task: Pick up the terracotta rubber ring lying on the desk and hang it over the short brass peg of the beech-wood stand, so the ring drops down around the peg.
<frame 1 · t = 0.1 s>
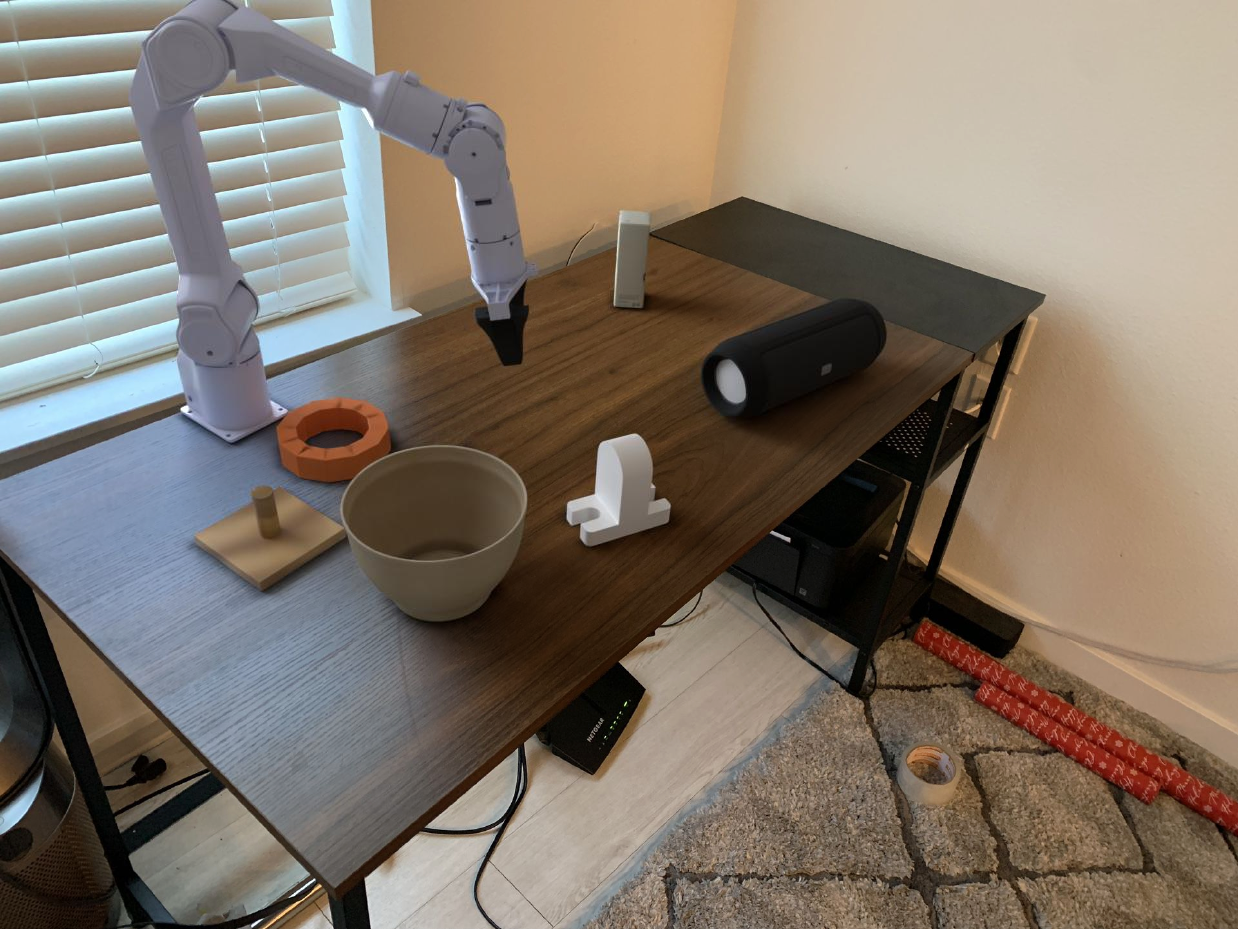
hand: (513, 345, 105), 11 cm above the table, tool pointing down, fingers open, 7 cm apart
peg stand: (271, 540, 93), on the table
box: (628, 301, 139), on the table
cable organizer: (617, 520, 99), on the table
portable speaker: (789, 390, 122), on the table
rubber ring: (336, 449, 105), on the table
planter bowl: (440, 588, 89), on the table
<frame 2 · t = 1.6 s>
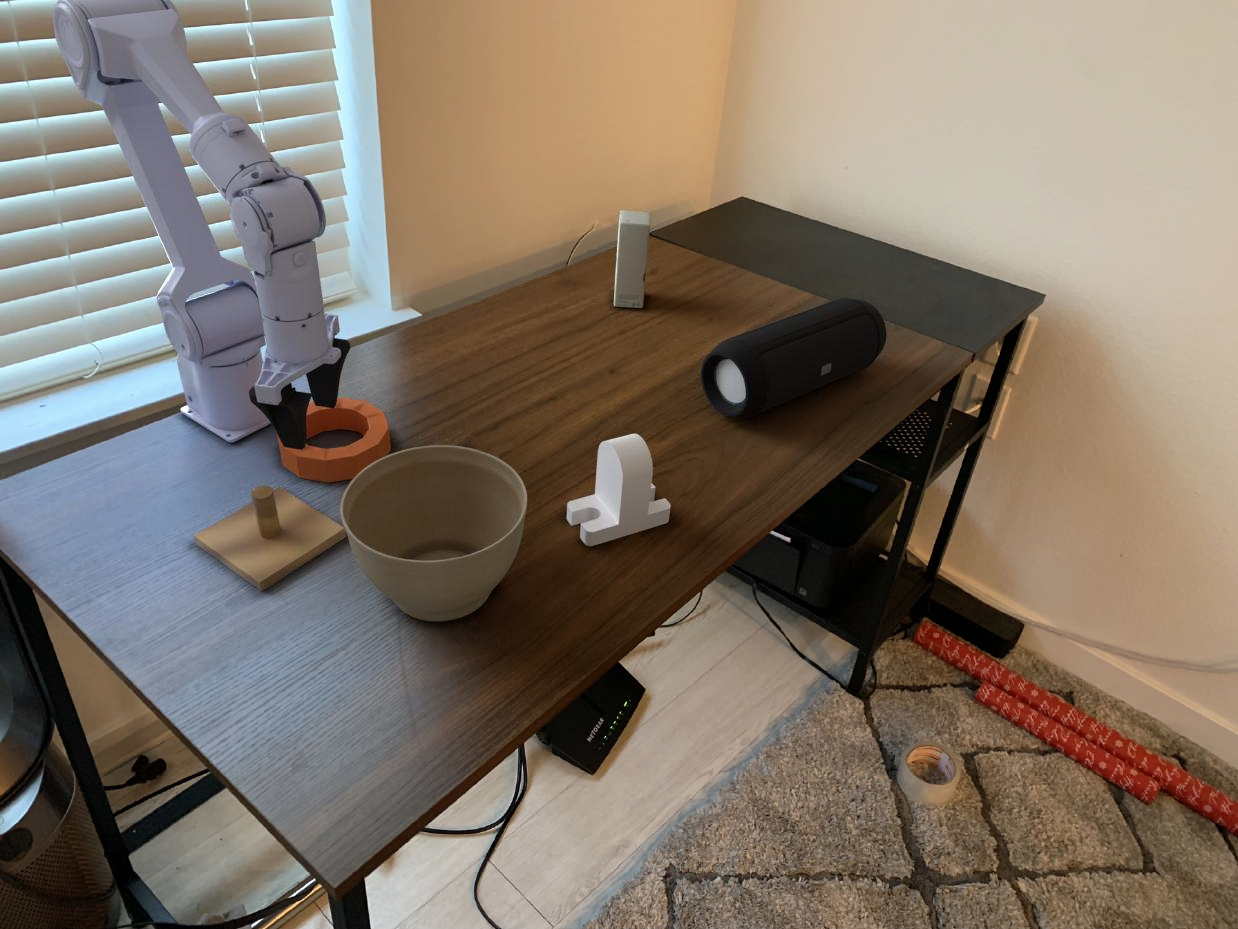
hand: (310, 425, 97), 7 cm above the table, tool pointing down, fingers open, 7 cm apart
nothing on the table moved.
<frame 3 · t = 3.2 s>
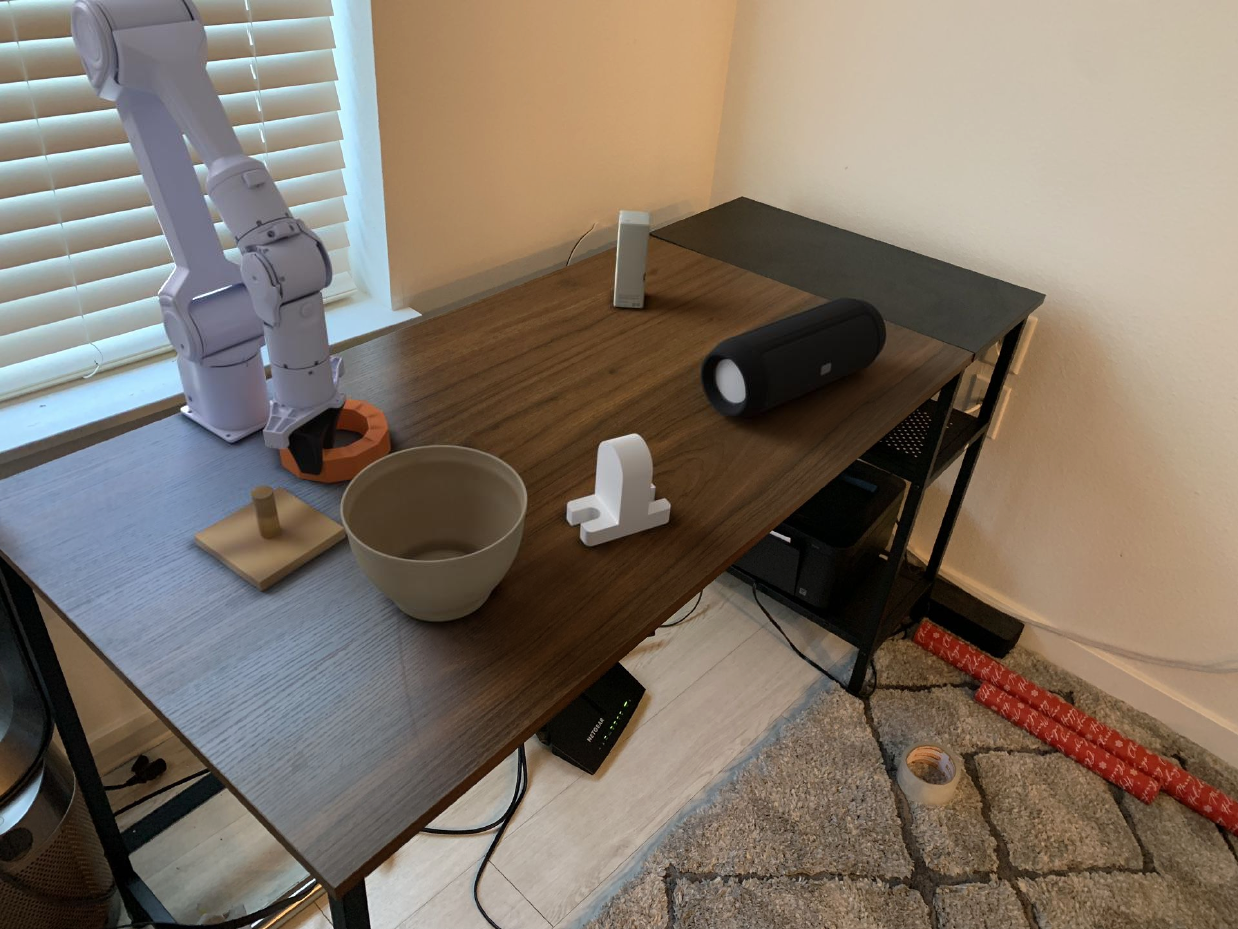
hand: (316, 464, 100), 1 cm above the table, tool pointing down, fingers closed on rubber ring, 2 cm apart
rubber ring: (335, 449, 105), on the table, touching gripper
everything else where it was.
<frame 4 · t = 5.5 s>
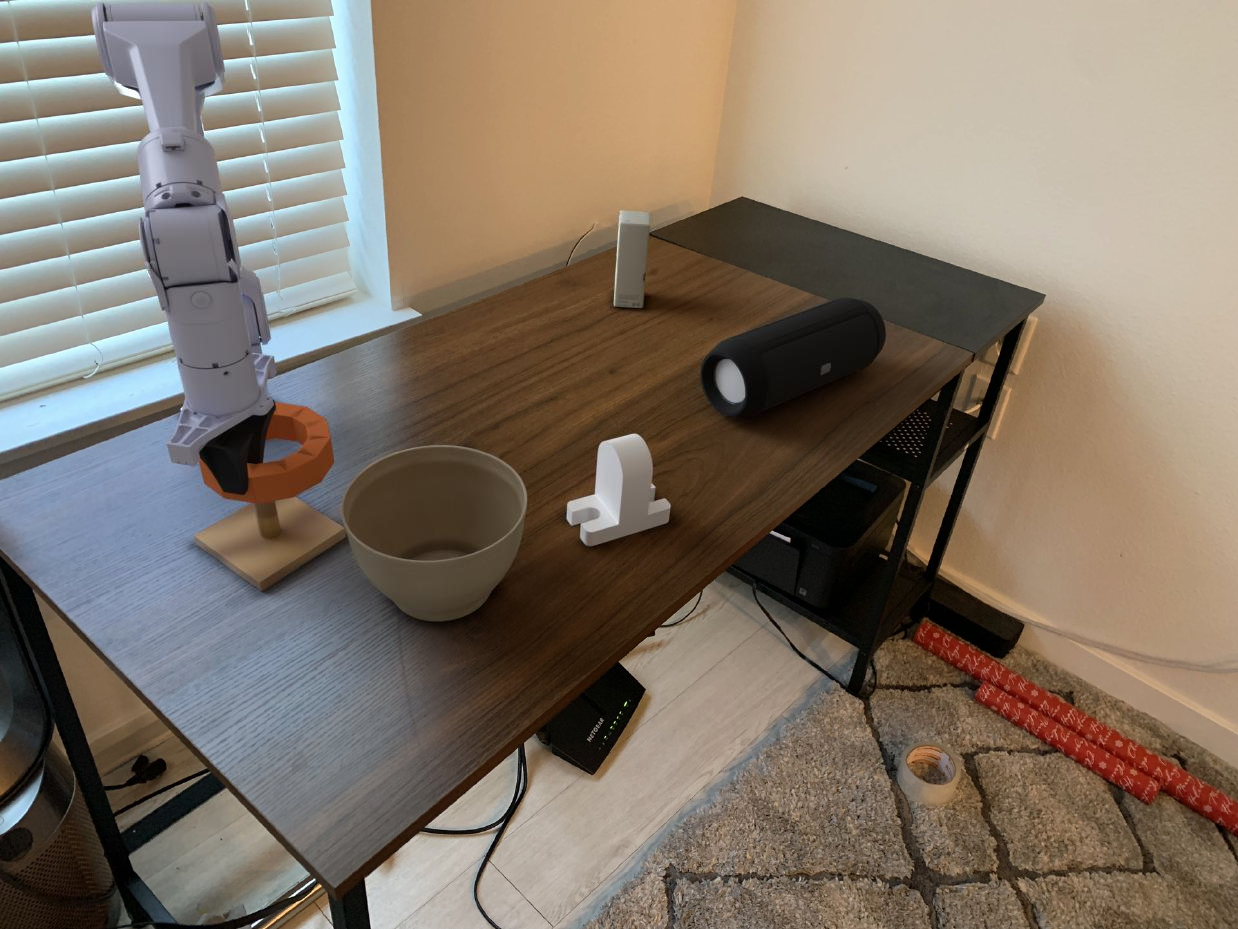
hand: (242, 482, 85), 9 cm above the table, tool pointing down, fingers closed on rubber ring, 2 cm apart
rubber ring: (269, 463, 89), point 8 cm above the table, touching gripper
everything else where it was.
when the fingers open (3 cm above the table, at t = 7.8 s): rubber ring stays where it is, resting on peg stand.
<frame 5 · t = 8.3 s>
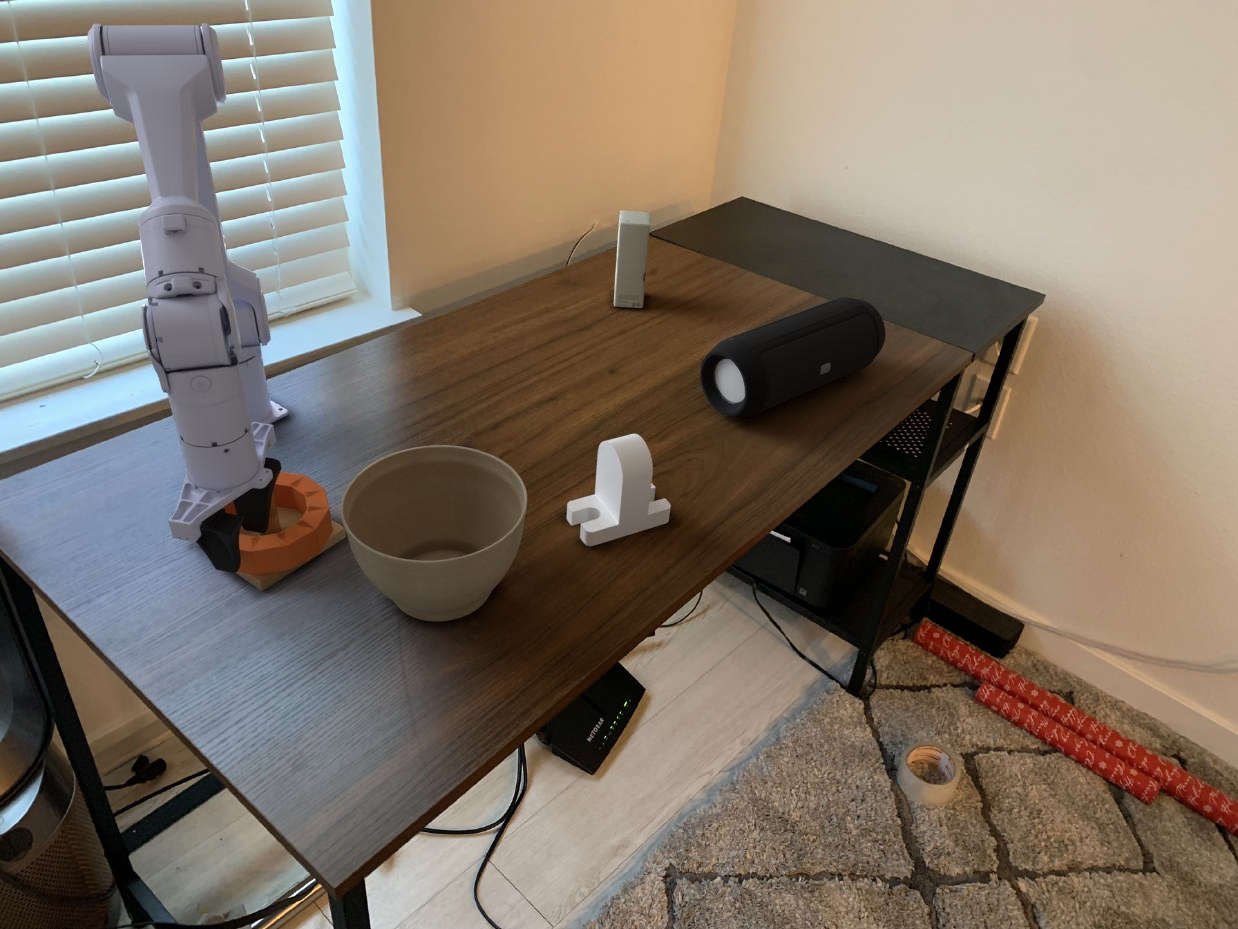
hand: (242, 548, 87), 3 cm above the table, tool pointing down, fingers open, 5 cm apart
rubber ring: (269, 532, 92), point 1 cm above the table, touching peg stand
everything else where it was.
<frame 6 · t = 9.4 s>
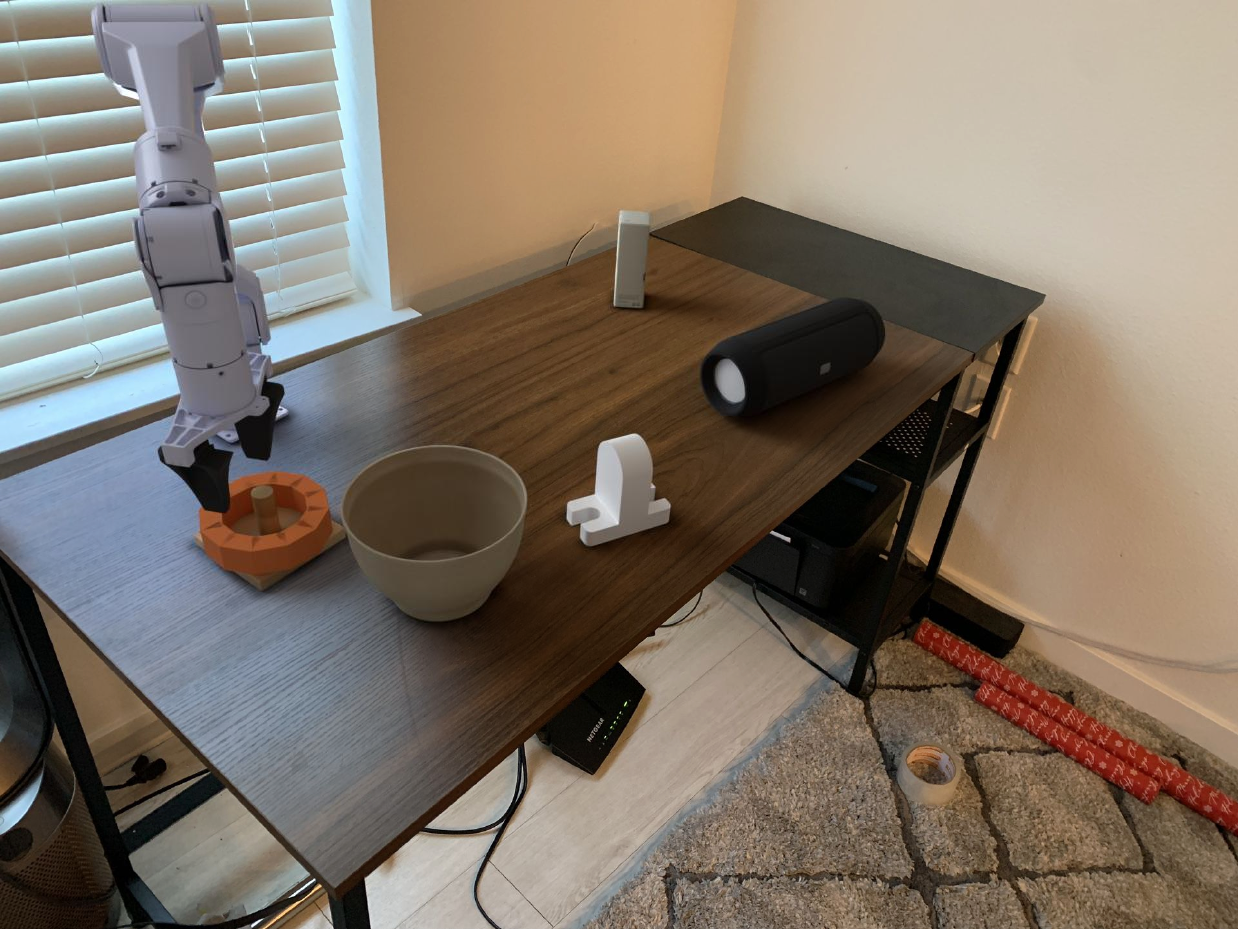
hand: (238, 482, 84), 10 cm above the table, tool pointing down, fingers open, 7 cm apart
nothing on the table moved.
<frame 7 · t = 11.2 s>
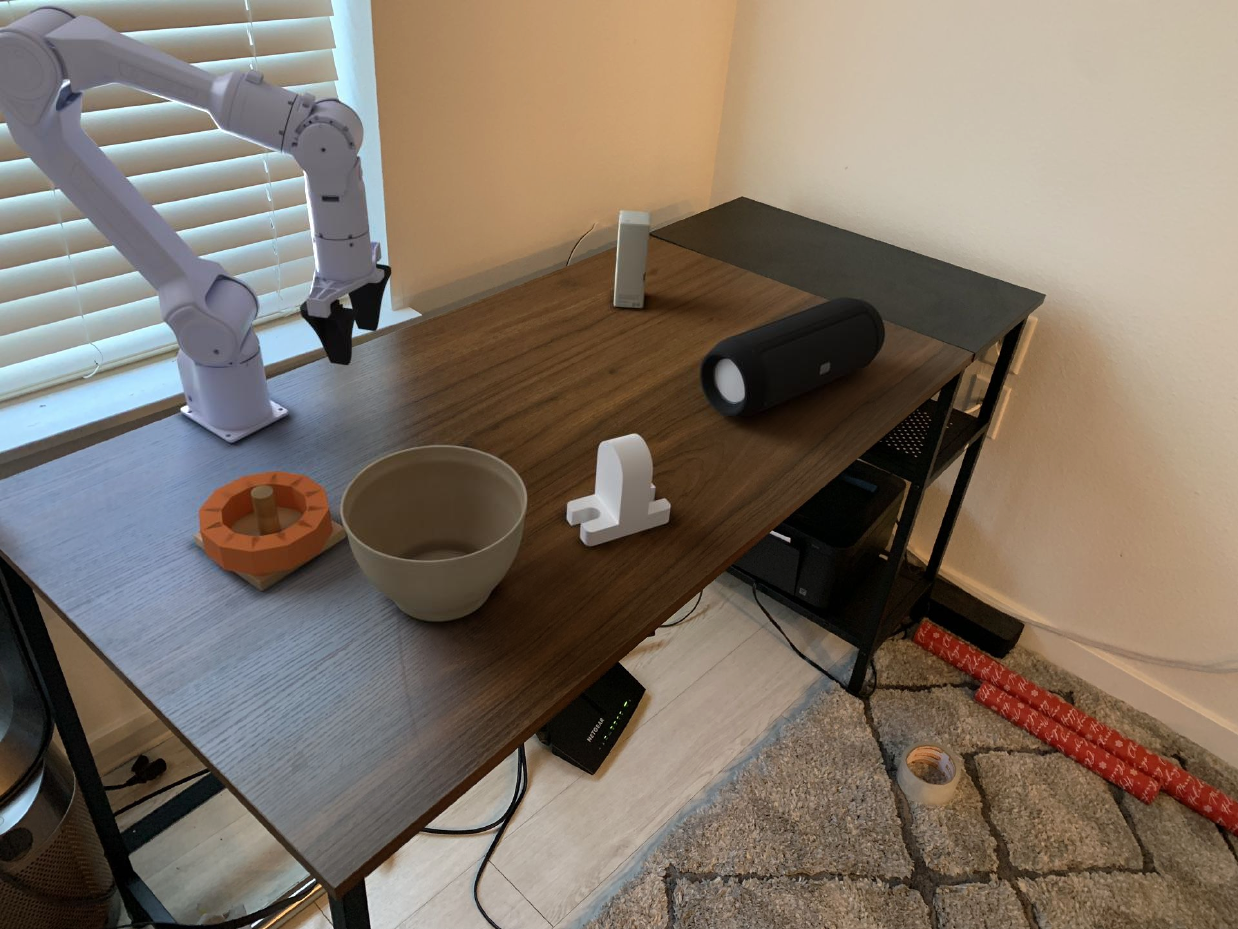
hand: (354, 345, 104), 10 cm above the table, tool pointing down, fingers open, 7 cm apart
nothing on the table moved.
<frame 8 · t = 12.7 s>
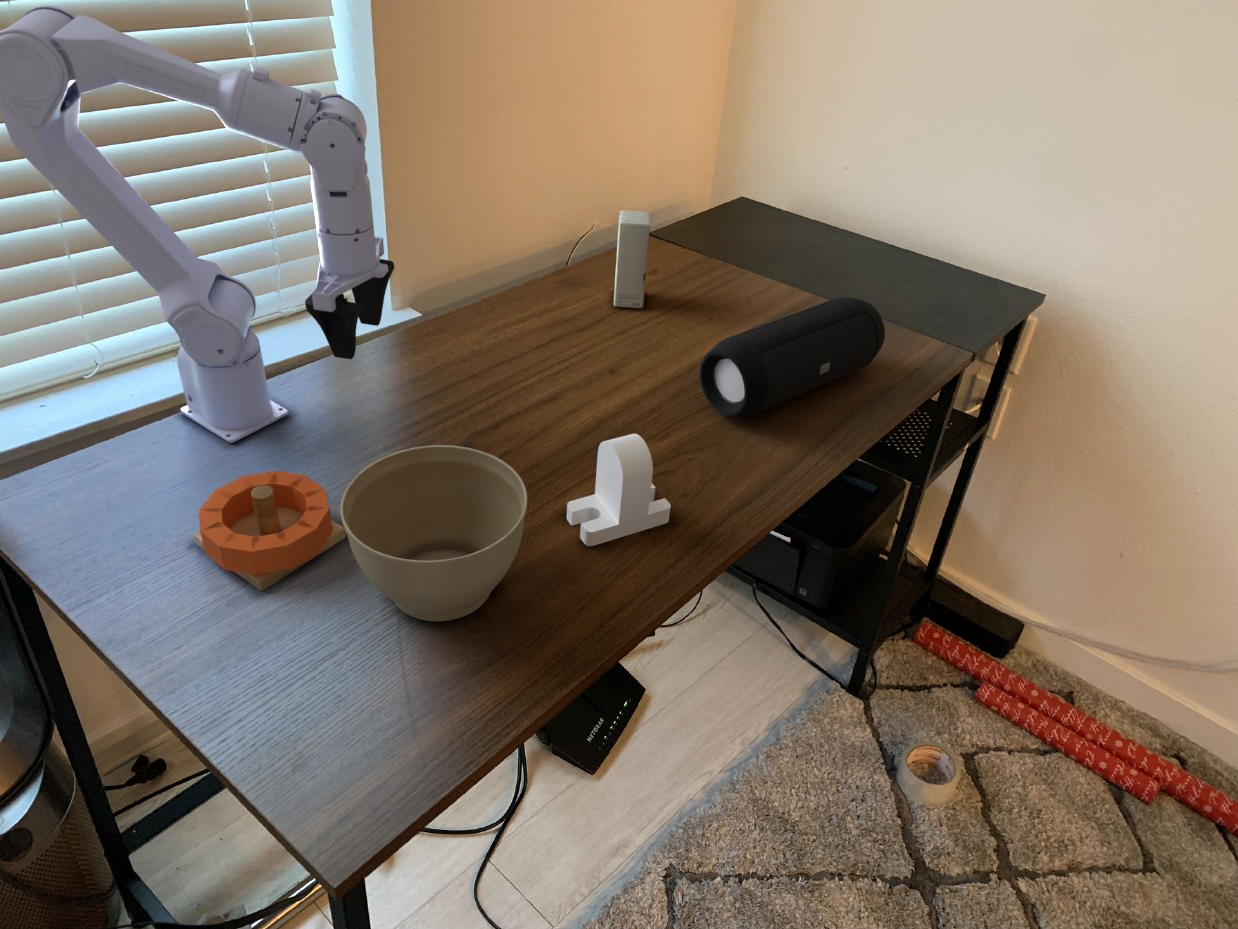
hand: (357, 339, 105), 10 cm above the table, tool pointing down, fingers open, 7 cm apart
nothing on the table moved.
at the end: rubber ring 0.2 cm from the peg stand (horizontally); rubber ring point 1.2 cm above the table; rubber ring tilted 0° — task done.
